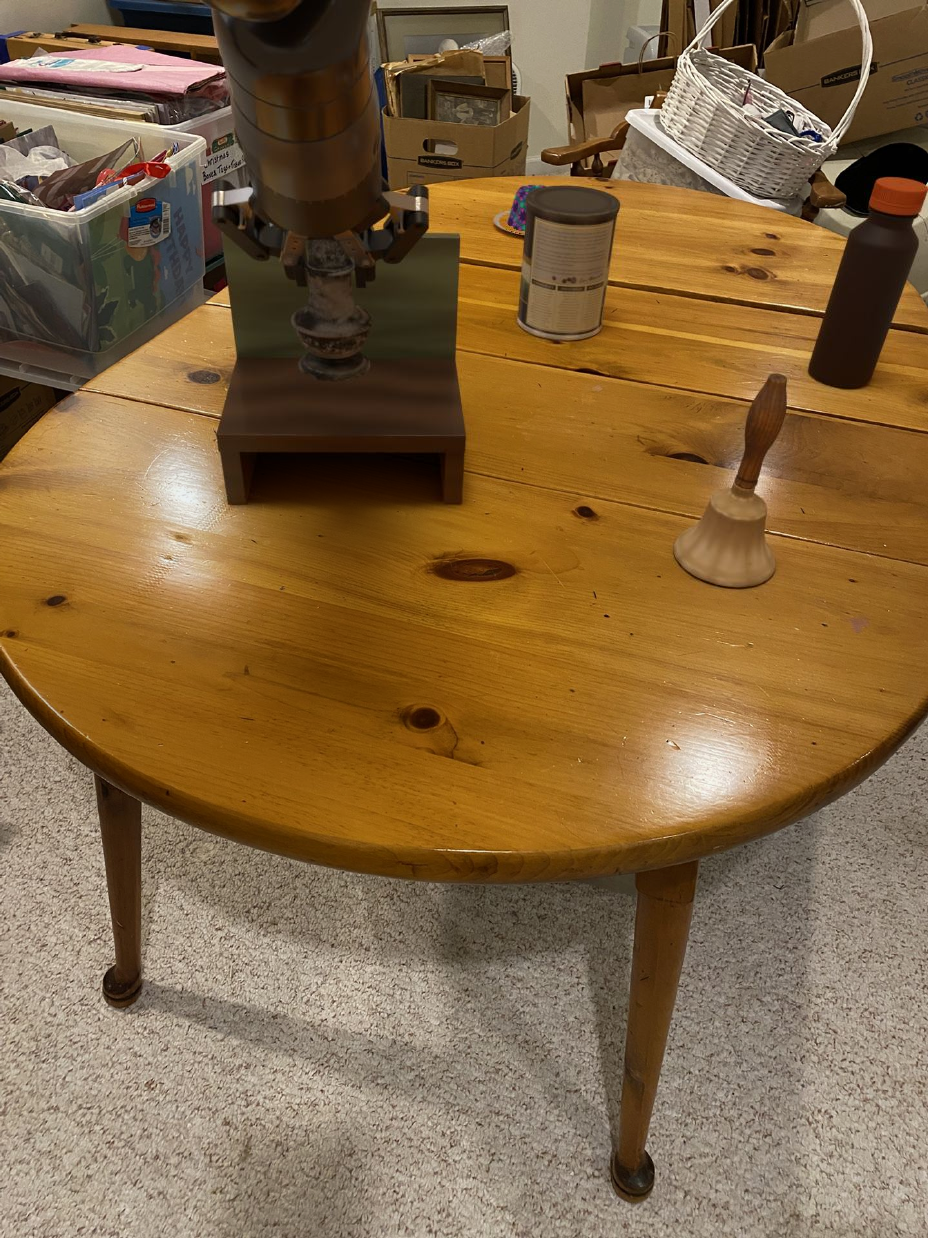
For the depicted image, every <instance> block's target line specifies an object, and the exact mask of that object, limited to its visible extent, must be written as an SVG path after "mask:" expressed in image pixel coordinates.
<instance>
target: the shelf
mask: <svg viewBox="0 0 928 1238" xmlns="http://www.w3.org/2000/svg"><path fill="white" fill-rule="evenodd" d="M220 234H221V243H222V248H223V249H222V251H223V259H224V266H225V274H226V275H225V276H226V282H227V283H226V284H227V288H228V289H227V290H228V300H229V305H230V314H231V321H232V329H233V336H234V346H235V354H236V359H235V363H234V366H233V371H232V373H231V377H230V381H229V385H228V388H227V392H226V396H225V400H224V404H223V408H222V411H221V415H220V418H219V423H218V425H217V430H216V434H215V435H216V443H217V449H218V450H217V451H218V452H219V454H220V461H221V468H222V475H223V482H224V487H225V488H224V489H225V495H226V501H227V505H247V504H248V499H249V495H250V494H249V493H250V489H251V484H252V479H253V473H254V468H255V463H256V459H257V453H438V455H439V456H438V457H439V467H440V477H441V479H440V480H441V489H442V490H441V491H442V499H443V500H442V501H443V504H444V505H461V504H463V494H464V493H463V491H464V474H465V473H464V471H465V453H466V447H467V444H466V442H467V434H466V425H465V419H464V411H463V404H462V397H461V389H460V383H459V376H458V369H457V361H456V360H457V359H456V358H457V334H458V330H457V329H458V310H459V309H458V307H459V283H460V281H459V280H460V279H459V278H460V257H461V234H460V233H459V232H458V233H455V232H426V233H425V234H424V235H423V236H422V237H421V238H420V240H419V241H418V242H417V243H416V244H415V246H414V247H413V248H412V249H411V250H410V251H409V253H408V254H407V255H406V256H405V257H404V258H403V260H402V261H401V262H400V263H397V264H388V263H385V262H384V261H383V259H379V260H377V261H376V279H375V280H374V281H373V282H367V281H366V288H356V278H355V269H354V270H353V271H352V272H351V277H352V294H353V298H354V301H355V305H356V306H359V307H361V308H364V309H365V310H367V311H369V312H370V314H371V315H372V316H373V324H372V326H371V327H370V328H369V335H368V338H367V340H366V343H365V345H364V346H363V347H362V348H361V349H360V350H359V351H358V352H359V353H362V354H363V355H364V356H366V357H367V358H368V359H369V361H370V368H369V370H368V372H366V373H365V374H364V375H362V376H360V377H358V378H355V379H351V380H346V381H322V380H318V379H314V378H311V377H309V376H306V375H305V374H304V373H302V372H301V371H300V369H299V361H300V359H301V358H302V357H303V356H305V355H306V354H308V353H309V351H308V350H307V349H306V348H304V347H303V345H302V344H301V342H300V340H299V338H298V336H297V332H296V328H294V326H293V325H292V323H291V317H292V315H293V314H294V313H295V312H296V311H297V310H299V309H300V308H303V307H305V306H308V301H309V296H310V286H309V272H308V285H307V287H297V283H296V280H290V279H288V278H287V277H286V274H285V270H284V266H283V265H282V264H281V263H280V258H278V257H275V256H270V259H269V260H267V261H257V260H254V259H252V258H251V257H250V256H249V255H248V254H247V253H246V252H244V251H243V250H242V249H241V248H240V247H239V246H238V245H236V244H235V243H234V242H233V241H232V240H231V239H230V238H228V237H227V236H226V235H225V234H224V233H223V232H222V231H221V232H220ZM305 249H306V254H307V260H308V259H309V252H308V240H306V243H305ZM350 259H351V260H352V261H354V259H353V257H350Z"/></svg>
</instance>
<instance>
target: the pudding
mask: <svg viewBox="0 0 928 1238" xmlns="http://www.w3.org/2000/svg"><path fill="white" fill-rule="evenodd" d="M542 187H547V186H546V185H541V184H527V185H522V186H520V187H519V188H518V189H517V190H516V192H515V194H514V198H513V202H512V205H511V209H509V210H506V211H502V212H499V213H497V214H496V215H495V216H494V217H493V223H494V225H495V226H497V227H498V228H500V229H502V230H504V231H506V232H510V233H512V234H516V235H521V236H524V234H519V233H515V232H511V231H509V230H506V229H505V228H503V227H502V226H501V225H500V223H499V220H500V219H499V218H500V217H502V215H506V213H510V214H509V218H508V221H507V224H508V225H509V226H513V228H514V229H516V230H519V231H525V221H526V208H527V205H526V196H527V194H528V193H529V192H531V191H533V190H535V189H538V188H542Z"/></svg>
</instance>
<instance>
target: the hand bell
mask: <svg viewBox="0 0 928 1238" xmlns="http://www.w3.org/2000/svg"><path fill="white" fill-rule="evenodd" d="M787 383H788V377H787V376H786V375H784V374H782V373H778V372H775V373H770V374H769V375H768V377H767V379H766V381H765V382H764V384H763V385H762V387H761V388H760V390H759V391H758V392H757V394H756V395H755V397H754V398H753V400H752V402H751V405H750V407H749V409H748V413H747V416H746V419H745V427H744V451H743V456H742V458H741V460H740V464H739V467H738V469H737V474H736V475H735V477H734V480H733V482H732V485H731V487H725V488H722V489H719V490H717V491H715V492H713V494H712V495H711V497H710V498H709V501H708V504H707V506H706V508H705V510H704V512H703V514H702V516H701V518H700V519H699V521H698V522H697V523H696V524H695V525H692V526H690V527H689V528H687V529H685V530H683V531H682V532H681V533H680V534H679V535H678V536H677V537H676V539H675V541H674V543H673V547H672V548H673V549H672V550H673V555H674V557H675V559H676V560H677V562H678V563H679V564H680V565H681V567H682V568H683V569H684V570H685V571H686V572H688V573H690V574H691V575H692V576H694V577H696V578H697V579H699V580H702V581H705V582H708V583H711V584H714V585H715V586H716V585H717V586H721V587H728V588H749V587H754V586H758V585H760V584H762V583H765V582H766V581H768V580H769V579H770V578H772V576H773V575H774V573H775V571H776V568H777V562H776V557H775V554H774V552H773V550H772V548H771V547H770V545H769V544H768V543H767V540H766V523H767V522H766V521H767V514H768V505H767V503H766V501H765V500H764V499H763V498H762V497H761V496H760V495H759V494H757V493H755V490H756V487H757V486H758V482H759V478H760V475H761V470H762V466H763V462H764V460H765V457H766V455H767V453H768V452H769V450H770V449H771V448H772V446H773V444H774V443H775V442H776V440H777V438H778V436H779V434H780V432H781V431H782V427H783V424H784V421H785V418H786V415H787V408H788V395H787V393H788V391H787Z"/></svg>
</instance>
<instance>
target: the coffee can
mask: <svg viewBox="0 0 928 1238" xmlns="http://www.w3.org/2000/svg"><path fill="white" fill-rule="evenodd" d="M526 205H527V208H526V221H525V234H524V235H523V236H524V237H523V246H522V247H523V248H522V259H521V271H520V285H519V297H518V298H519V299H518V309H517V317H516V322H517V324H518V326H519V327H520V328H521V329H522V330H523V331H524V332H526V333H528V334H531V335H532V336H535V337H538V338H542V339H546V340H552V341H565V342H571V341H580V340H584V339H589V338H592V337H594V336H595V335H597V334H598V333H600V332H601V330H602V328H603V317H604V310H605V304H606V296H607V289H608V283H609V282H608V281H609V277H610V276H609V275H610V270H611V269H610V268H611V261H612V255H613V247H614V241H615V234H616V227H617V220H618V214H619V212H620V209H621V202H620V200H619V198H617V197H616V196H615V195H613V194H611V193H609V192H606V191H603V190H599V189H597V188H593V187H588V186H581V185H566V184H565V185H560V184H559V185H548V186H546V187H542V188H538V189H535V190H533V191H531V192H529V193H528V194H527V196H526Z"/></svg>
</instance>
